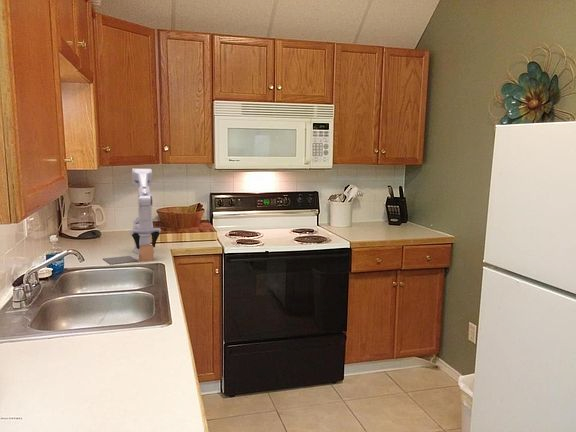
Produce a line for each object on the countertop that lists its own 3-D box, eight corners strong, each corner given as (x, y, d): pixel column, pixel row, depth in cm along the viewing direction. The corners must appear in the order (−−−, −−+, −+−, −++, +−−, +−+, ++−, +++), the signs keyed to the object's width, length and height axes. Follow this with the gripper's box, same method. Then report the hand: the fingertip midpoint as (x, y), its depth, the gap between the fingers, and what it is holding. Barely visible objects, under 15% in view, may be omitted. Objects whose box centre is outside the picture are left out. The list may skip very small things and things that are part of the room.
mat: (102, 259, 220) (102, 258, 220) (129, 256, 228) (129, 255, 228) (110, 264, 210) (110, 263, 209) (138, 261, 217) (138, 260, 217)
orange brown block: (138, 259, 222) (138, 245, 222) (149, 257, 226) (149, 244, 225) (142, 261, 218) (142, 246, 217) (153, 259, 221) (153, 245, 220)
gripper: (133, 222, 212) (133, 250, 214) (163, 220, 221) (163, 247, 222) (128, 220, 218) (128, 248, 219) (157, 218, 226) (158, 245, 228)
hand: (145, 247), depth 221 cm, fingers open, 7 cm apart
